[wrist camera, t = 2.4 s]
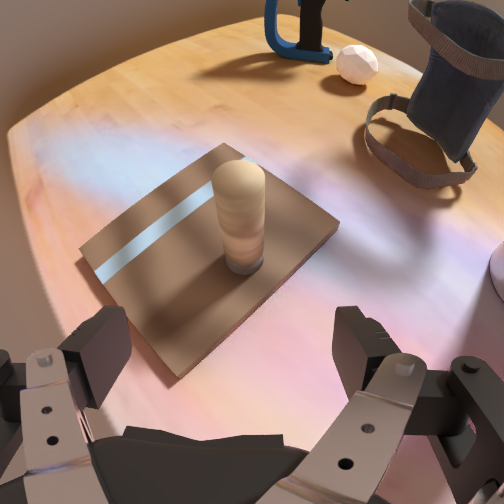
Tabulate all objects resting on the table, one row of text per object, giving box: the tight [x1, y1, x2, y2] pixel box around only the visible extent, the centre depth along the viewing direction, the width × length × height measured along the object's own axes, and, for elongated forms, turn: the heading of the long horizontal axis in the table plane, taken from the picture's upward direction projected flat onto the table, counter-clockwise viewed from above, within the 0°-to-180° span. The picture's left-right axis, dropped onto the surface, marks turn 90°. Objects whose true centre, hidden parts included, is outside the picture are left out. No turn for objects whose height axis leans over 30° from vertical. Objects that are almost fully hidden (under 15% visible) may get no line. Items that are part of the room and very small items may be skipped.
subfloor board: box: [79, 143, 340, 379], centre depth 33 cm, size 22×18×2 cm
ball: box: [336, 45, 378, 85], centre depth 48 cm, size 8×8×8 cm
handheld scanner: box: [264, 0, 349, 63], centre depth 48 cm, size 4×16×19 cm, turn 81°
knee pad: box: [365, 0, 504, 189], centre depth 30 cm, size 18×20×25 cm
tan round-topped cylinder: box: [211, 160, 265, 276], centre depth 26 cm, size 4×4×11 cm
